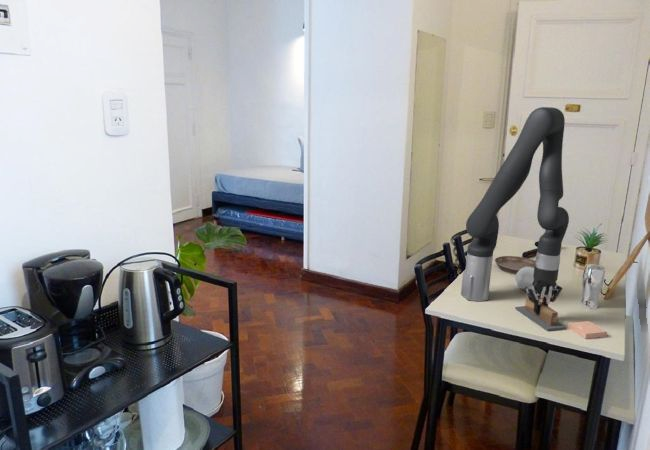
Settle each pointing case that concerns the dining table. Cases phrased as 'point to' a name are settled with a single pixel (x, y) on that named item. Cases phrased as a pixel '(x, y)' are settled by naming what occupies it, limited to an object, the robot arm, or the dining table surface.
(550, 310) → the bar
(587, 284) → the silver upright cylinder
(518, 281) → the potion bottle
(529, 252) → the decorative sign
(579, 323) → the glazed tile
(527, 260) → the plant saucer
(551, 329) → the mat
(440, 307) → the dining table surface
